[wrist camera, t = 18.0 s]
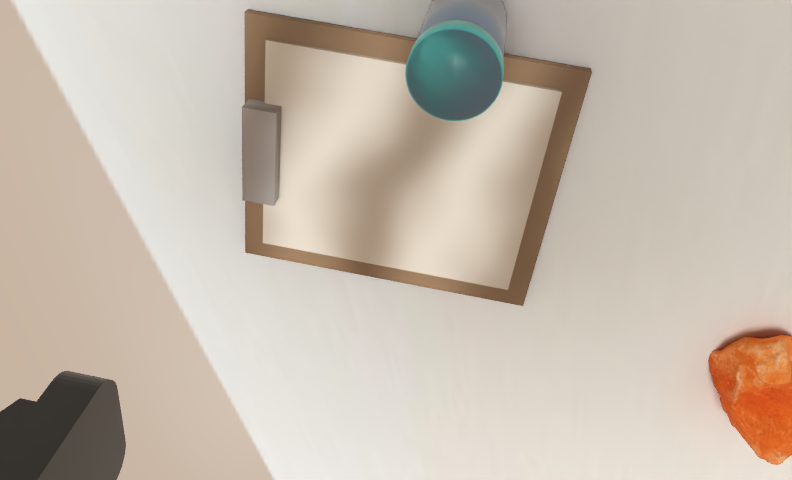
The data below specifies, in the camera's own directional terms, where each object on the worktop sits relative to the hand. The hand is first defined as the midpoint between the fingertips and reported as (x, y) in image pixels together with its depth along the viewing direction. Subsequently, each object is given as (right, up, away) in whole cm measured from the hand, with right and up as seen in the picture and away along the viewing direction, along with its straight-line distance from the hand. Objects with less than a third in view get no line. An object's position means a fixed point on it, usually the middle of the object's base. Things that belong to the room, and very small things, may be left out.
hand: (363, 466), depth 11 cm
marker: (+4, +13, +19) cm, 23 cm away
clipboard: (+1, +7, +24) cm, 25 cm away
